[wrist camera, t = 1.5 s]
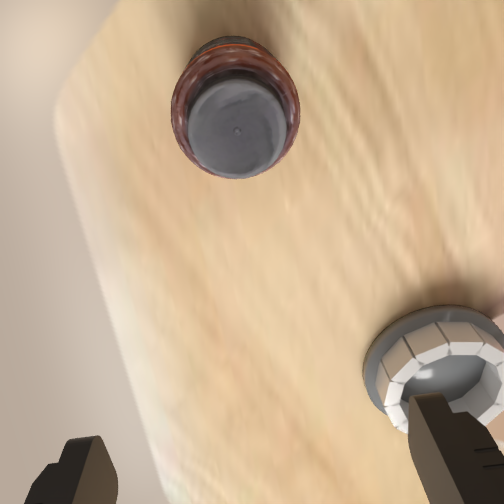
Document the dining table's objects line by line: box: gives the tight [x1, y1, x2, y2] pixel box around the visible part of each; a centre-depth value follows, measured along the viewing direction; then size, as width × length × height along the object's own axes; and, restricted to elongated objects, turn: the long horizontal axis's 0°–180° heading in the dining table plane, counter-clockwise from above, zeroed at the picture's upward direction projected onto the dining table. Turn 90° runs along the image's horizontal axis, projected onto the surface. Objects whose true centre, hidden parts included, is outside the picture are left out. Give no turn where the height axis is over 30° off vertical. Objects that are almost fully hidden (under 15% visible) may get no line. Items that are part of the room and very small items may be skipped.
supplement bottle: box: [171, 36, 300, 179], centre depth 23 cm, size 6×6×11 cm
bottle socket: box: [363, 305, 504, 434], centre depth 38 cm, size 12×12×4 cm
